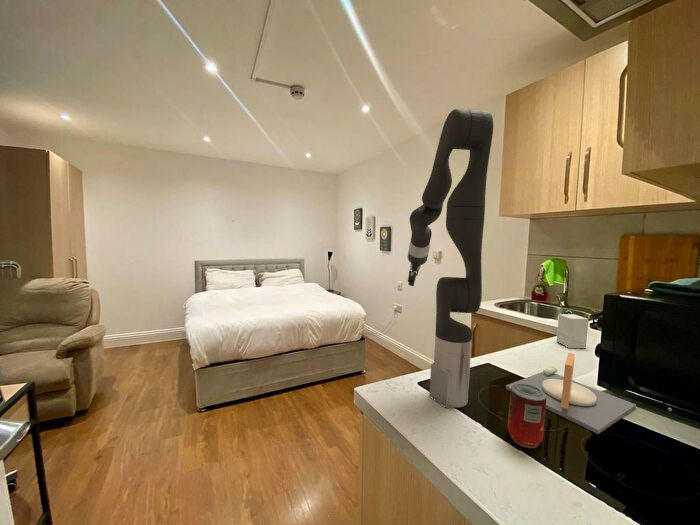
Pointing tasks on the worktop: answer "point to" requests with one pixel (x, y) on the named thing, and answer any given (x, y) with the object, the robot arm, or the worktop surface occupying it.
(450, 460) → the worktop surface
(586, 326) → the white tall block
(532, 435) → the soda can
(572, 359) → the dial lever
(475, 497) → the worktop surface
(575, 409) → the board
